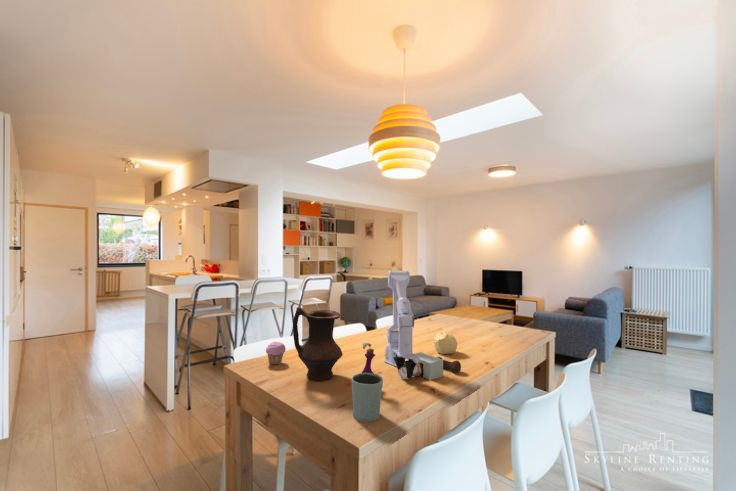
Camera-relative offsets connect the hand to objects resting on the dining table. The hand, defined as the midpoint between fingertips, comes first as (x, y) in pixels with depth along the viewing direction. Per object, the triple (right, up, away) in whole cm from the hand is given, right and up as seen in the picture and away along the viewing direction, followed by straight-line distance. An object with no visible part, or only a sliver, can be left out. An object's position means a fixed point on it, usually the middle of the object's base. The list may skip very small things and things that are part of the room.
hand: (405, 375), depth 139 cm
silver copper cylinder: (+4, -2, +3) cm, 6 cm away
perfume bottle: (-16, -2, -11) cm, 19 cm away
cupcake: (-59, -2, +18) cm, 62 cm away
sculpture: (+25, -3, +38) cm, 46 cm away
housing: (+10, -2, +7) cm, 12 cm away
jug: (-37, -2, +2) cm, 37 cm away
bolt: (+19, -3, +14) cm, 24 cm away
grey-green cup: (-16, -1, -31) cm, 34 cm away
